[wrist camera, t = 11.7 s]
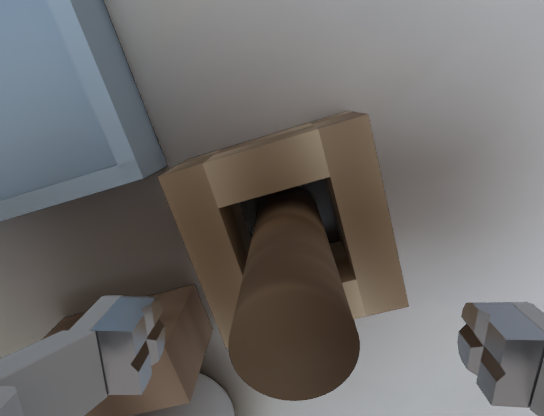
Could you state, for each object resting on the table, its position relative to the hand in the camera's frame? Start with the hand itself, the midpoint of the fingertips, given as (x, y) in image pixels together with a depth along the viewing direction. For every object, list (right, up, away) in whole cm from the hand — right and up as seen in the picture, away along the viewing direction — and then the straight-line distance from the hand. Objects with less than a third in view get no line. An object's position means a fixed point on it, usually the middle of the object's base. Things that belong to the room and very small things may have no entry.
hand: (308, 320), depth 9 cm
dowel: (0, +3, +8) cm, 9 cm away
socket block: (0, +3, +8) cm, 9 cm away
